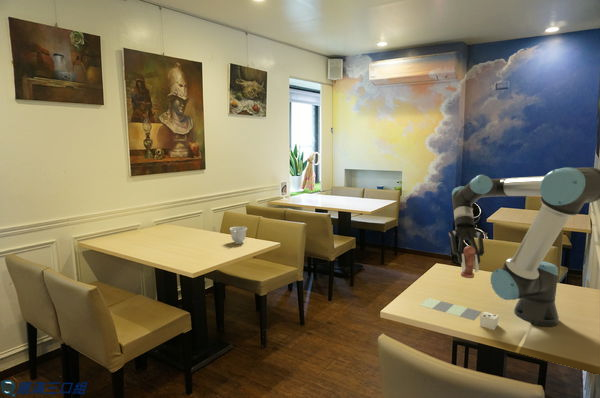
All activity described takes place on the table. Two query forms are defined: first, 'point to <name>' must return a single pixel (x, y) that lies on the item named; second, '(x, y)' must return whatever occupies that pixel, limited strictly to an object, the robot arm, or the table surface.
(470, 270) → the brown tall rounded piece
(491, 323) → the die
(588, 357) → the table surface
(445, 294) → the table surface
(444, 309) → the game board
